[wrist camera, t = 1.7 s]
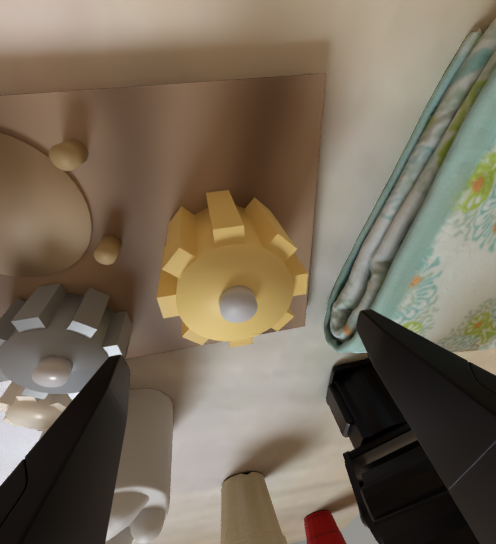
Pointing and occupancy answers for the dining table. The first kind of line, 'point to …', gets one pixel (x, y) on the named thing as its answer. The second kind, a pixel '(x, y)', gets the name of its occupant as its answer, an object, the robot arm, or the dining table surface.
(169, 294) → the loose gear
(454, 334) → the towel
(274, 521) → the flower pot
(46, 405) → the small gear
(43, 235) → the board
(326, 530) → the plastic cup
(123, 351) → the gear
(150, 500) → the grey paw block
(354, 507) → the dining table surface
